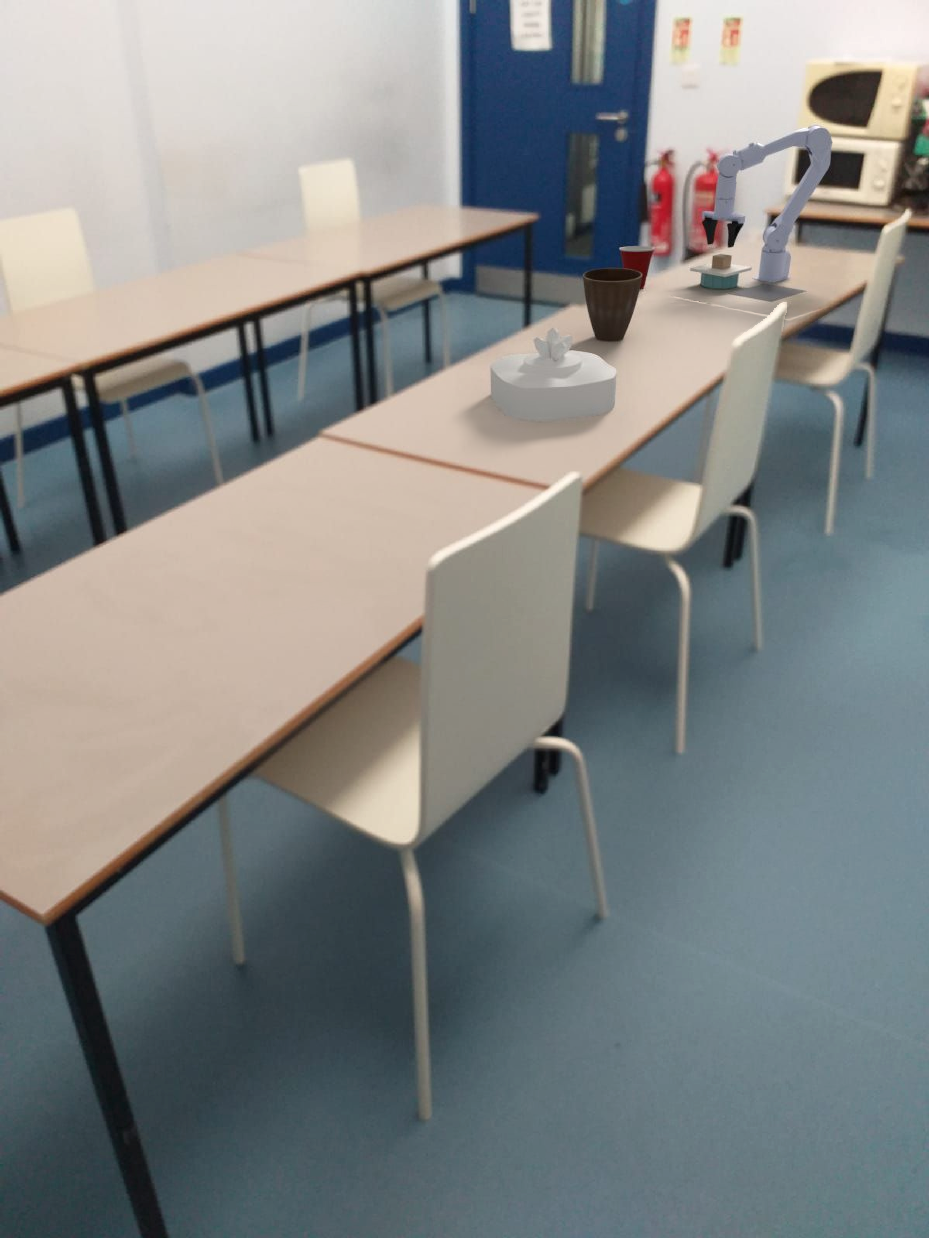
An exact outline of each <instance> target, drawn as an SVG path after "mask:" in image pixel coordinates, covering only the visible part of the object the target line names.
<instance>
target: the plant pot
mask: <svg viewBox="0 0 929 1238" xmlns="http://www.w3.org/2000/svg"><path fill="white" fill-rule="evenodd" d="M641 280H642V273H641V272H639V271H636V270H632V269H624V268H623V267H622V268H621V267H620V268H619V267H605V268H596V269H590V270H587V271H585V272H584V273H583V274H582V281H583V289H584V297H585V303H586V308H587V313H588V317H589V321H590V325H591V329H592V332H593V334H594V337H595V339H597V340H599V341H601V342H602V341H603V342H618V341H621V340H623V339H624V338H625V336H626V333H627V331H628V328H629V326H630V323H631V320H632V317H633V315H634V312H635V309H636V306H637V301H638V297H639V293H640V290H641V289H640V285H641Z"/></svg>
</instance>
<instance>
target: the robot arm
mask: <svg viewBox="0 0 929 1238" xmlns="http://www.w3.org/2000/svg"><path fill="white" fill-rule="evenodd" d="M830 133H831V132H830V131H829V130H828V129H827V128H825V127H822V126H821V125H819V124H812V125H810V126H808V127H803V128H800V129H796V130H794V131H791V132H789V133H787V134H785V135H783V136H781V137H778V138H777V139H774V140H771V141H769V142H767V143H765V144H762V143H759V142H756V143H754V141H753V142H750V143H748V146H745V147H743V148H741V149H738V150H737V149H734V150H732V153H731V154H730V153H725V154H723V155H722V156H721V157H720V158H719V159H718V161H717V162H718V163H717V164H716V167H717V171H718V173H717V174H718V175H717V181H716V189H715V197H714V200H715V202H714V210H713V211H711V210H705V211H702V212H701V213H702V214H701V219H704V220H701V224H702V226H703V229H704V231H705V237H706V242H707V243H706V244H707V245H708V246H709V245H713V244H714V241H715V235H716V234H715V233H716V229H717V224H718V222H719V221H724V222H729V223H727V224H726V226H727V248H729V249H730V248H734V246H735V242H736V241H737V237H738V235H739V233H740V232H741V230H742V228H743V227H744V223H745V222H746V215H743V214H742V215H741V214H738V213H734V209H735V200H736V191H737V176H738V173H739V171H741V172H743V171H745V170H747V169H749V168H752V167H754V166H756V165H760V164H762V163H763V162H764V160H765V159H766V157H768V156H770V155H772V154H776V153H778V152H782V151H784V150H787V149H789V148H793V147H796V148H797V147H798V148H801V149H806V151H807V152H808V156H809V160H810V165H809V167H808V168H807V169H806V171H805V173H804V175H803V176H802V178H801V179H800V181H799V183H798V184H797V186H796V188H795V189H794V191H793V193H792V194H791V196H790V198H789V199H788V200H787V202H786V204H785V205H784V207H783V209H782V210H781V212H780V214H778V216H777V217H776V218H774V220H773V221H772V223H771V224H770V225H768V226H767V227H766V228H765V229H764V230H763V233H762V240H763V243H764V245H763V246H762V247H761V254H760V260H759V269H758V276H756V277H752V280H756V281H763V282H767V283H768V282H769V283H777V282H780V281H784V280H787V279H790V278H792V277H791V276H789V275H790V266H791V262H792V261H791V260H792V259H791V258H792V256H791V253H790V250H789V249H787V247H786V246H787V244H788V242H789V238H790V235H791V233H792V230H793V228H794V224H795V222H796V220H798V218H799V216H800V214H801V212H802V211H803V209H804V208H805V206H806V205H807V203H808V201H809V200H810V198H811V196H812V195H813V193H814V192H815V191H816V189H817V187H818V185H819V184H820V182H821V181H822V179H823V177H824V176H825V174H826V173H827V171H828V170H829V167H830V166H831V159H832V158H831V157H832V156H831V155H832V146H833V140H832V139H833V138H832V137H831V134H830Z"/></svg>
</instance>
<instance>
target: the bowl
mask: <svg viewBox="0 0 929 1238" xmlns="http://www.w3.org/2000/svg"><path fill="white" fill-rule="evenodd" d="M700 274H701V275H700V282H699V284H700V285H701V286H702V287H703V288H706V289H710V290H711V289H712V290H728V289H733V288H736V287H737V286H738V285H739V276H740V273H738V274H735V275H731V276H727V277H722V276H716V275H711V274H705V273H700Z"/></svg>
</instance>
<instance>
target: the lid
mask: <svg viewBox="0 0 929 1238" xmlns="http://www.w3.org/2000/svg"><path fill="white" fill-rule="evenodd" d="M732 256H733V255H731V254H724V253H718V254H714V255H712V259H711V262H710V263H706V264H701V265H697V266H694V267H690V269H689V271H690V272H694V273H699V274H701V273H705V274H711V275H716V276H722V277H727V276H731V275H735V274H738V273H739V274H742V273H745V272H748V271H749V272H750V271H752V268H753V267H752V266H748V265H747V266H746V265H739V264H734V263H732Z"/></svg>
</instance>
